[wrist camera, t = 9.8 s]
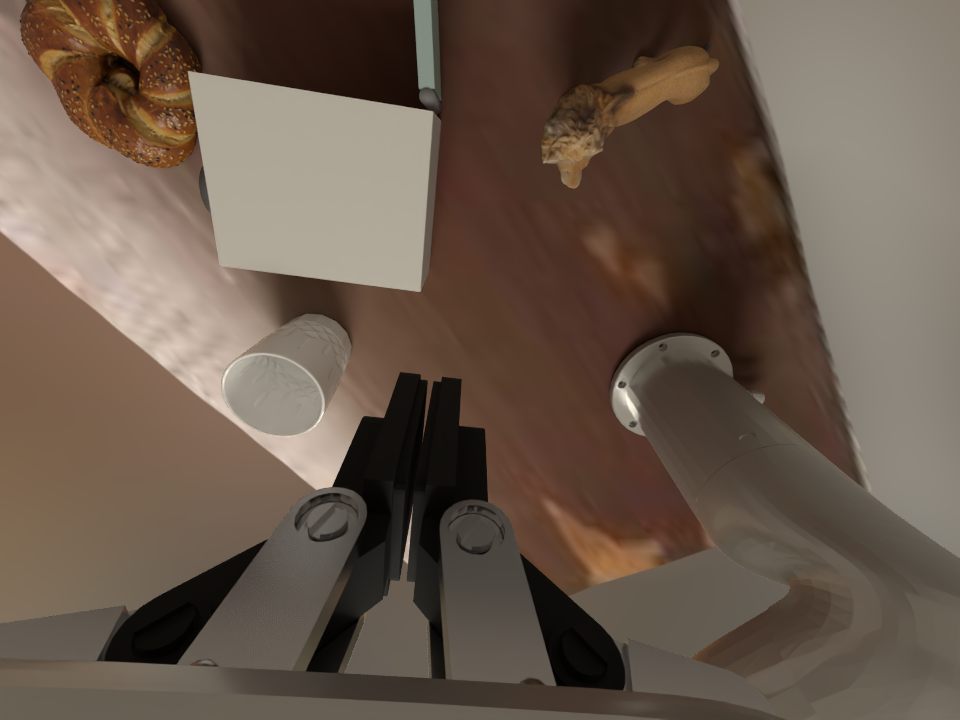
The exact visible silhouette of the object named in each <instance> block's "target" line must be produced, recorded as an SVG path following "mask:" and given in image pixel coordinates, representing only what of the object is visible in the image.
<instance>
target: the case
mask: <svg viewBox="0 0 960 720" xmlns="http://www.w3.org/2000/svg"><path fill="white" fill-rule="evenodd" d="M188 76H189V82H190V88H191V94H192V100H193V106H194V112H195V118H196V124H197V130H198V136H199V142H200V148H201V154H202V160H203V166H202V168H201V171H200V177H199V187H200V193H201V197H202V200H203V202H204V204H205V206H206V208H207V209H208V211H209V212H210V213H211V215H212V221H213V227H214V233H215V239H216V245H217V251H218V257H219V263H220V266H224V267H232V268H240V269H248V270H255V271H263V272H271V273H279V274H286V275H294V276H302V277H310V278H317V279H325V280H333V281H341V282H348V283H356V284H364V285H371V286H379V287H387V288H395V289H402V290H410V291H418V292H421V289H422V287H423V284H424V282H425V280H426V277H427V275H428V272H429V267H430V254H431V242H432V229H433V217H434V204H435V191H436V179H437V166H438V154H439V141H440V129H441V120H440V119H439V118H438V116H437V115H436V114H435V113H434V112H433V111H428V110H422V109H416V108H410V107H404V106H398V105H392V104H385V103H379V102H373V101H367V100H361V99H355V98H349V97H343V96H337V95H331V94H324V93H318V92H312V91H306V90H300V89H294V88H288V87H282V86H276V85H270V84H264V83H257V82H251V81H245V80H239V79H233V78H227V77H221V76H215V75H209V74H203V73H197V72H190V71H188Z"/></svg>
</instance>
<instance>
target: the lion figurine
mask: <svg viewBox="0 0 960 720" xmlns="http://www.w3.org/2000/svg"><path fill="white" fill-rule="evenodd" d="M710 48H711V42H708V43H707V44H706V45H705V46H704V47H702V48H701V47H697V46H683V47H679V48H675V49H673V50H670V51H668V52H666V53H664V54H662V55H661V56H660V57H658V58H649V57H644V56H642V57H639V58H637V59H636V61H635V62H634V66H633V67H634V68H633V69H629V70H625V71H622V72H620V73H617V74H615V75H613V76H611V77H609V78H607V79H606V80H604V81H603V82H601V83H600V84H591V85H590V84H580V85H578V86H576V87H575V88H573V89H571V90H570V91H569V92H568V93H567V94H566V95H564V96H563V97H562V98H561V99H560V100H559V102H558V104H557V105H556V106H554V109H553V110H552V111H551V113H550V115H549V116H548V119H547V122H546V124H545V126H544V134H543V137H542V139H541V147H542V160H543V164H544V163H554V164H556V165H557V166H558V168H559V170H560V172H561V181H562V182H563V183H564V184H565V185H567V186H568V187H569V188H576V187H578V185H579V184H580V180H581V177H582V169H583V168H584V167H586V166H587V165H588V163H589V160H590V158H591V157H592V156H594V155H595V154H597V153H598V152H600V151H602V150H603V148H602V146H603V144H604V141H605V139H606V138H607V136H608V135H609V134H610V133H611V132H612V131H613V130H614V128H615V127H617V126H621V125H624V124H626V123H629V122H631V121H633V120H635V119H637V118H638V117H640V116H642V115H643V114H645V113H646V112H648V111H650V110H651V109H653V108H654V107H656V106H657V105H658V104H660V103H661V102H663V101H665V100H668V101H669V102H670V103H672V104H674V105H677V104H684V103H687V102H690V101H692V100H693V99H695V98H696V97H697V96H698V95H700V94H701V93H702V92H703V91H704V90H705V89H706V88H707V87H708V85H709V83H710V75H711V74H712V73H714V72H715V71H716V70H717V69H718V67H719V62H718V60H717V59H714V58H710V57H709V55H708V52H709V51H710Z"/></svg>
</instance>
